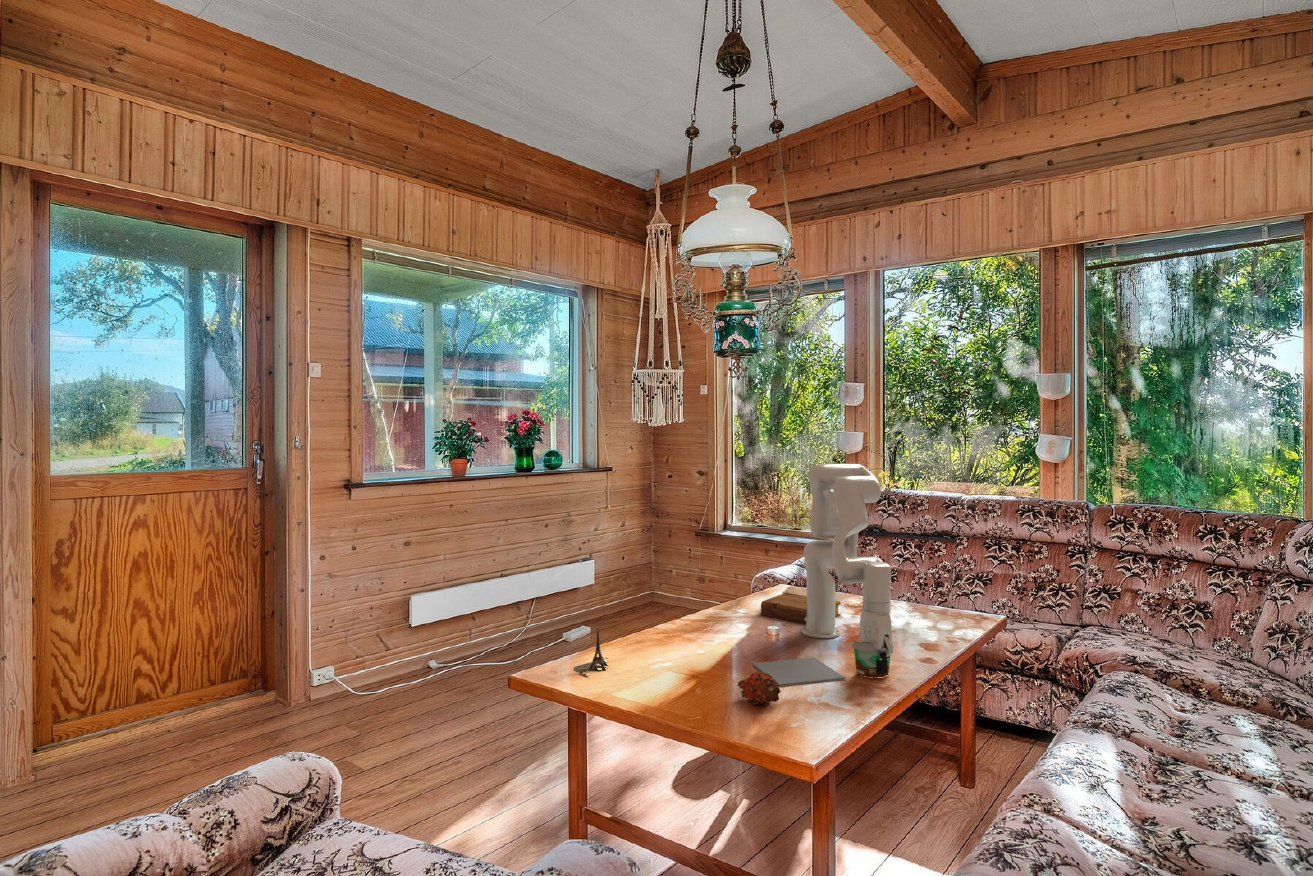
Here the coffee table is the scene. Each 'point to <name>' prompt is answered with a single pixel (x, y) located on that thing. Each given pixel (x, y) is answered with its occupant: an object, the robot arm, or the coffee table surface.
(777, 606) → the brown flat wooden box
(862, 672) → the food container
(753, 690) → the dragon fruit
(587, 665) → the eiffel tower figurine
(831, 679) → the mat
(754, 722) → the coffee table surface
